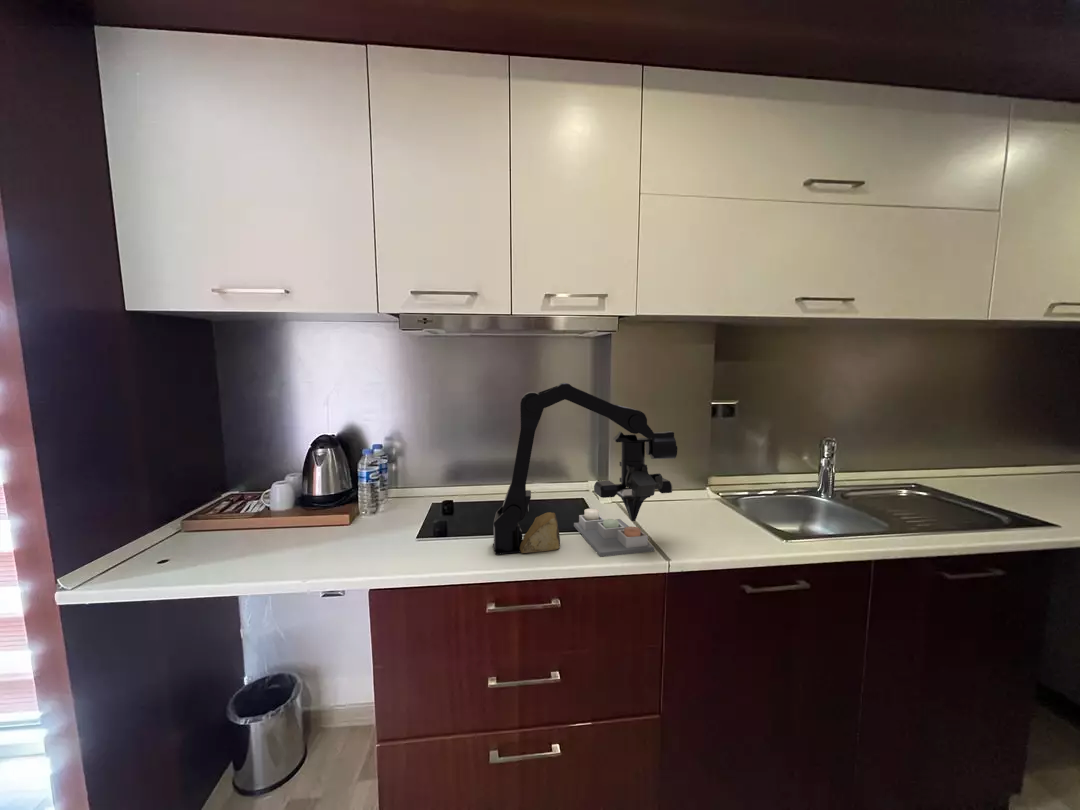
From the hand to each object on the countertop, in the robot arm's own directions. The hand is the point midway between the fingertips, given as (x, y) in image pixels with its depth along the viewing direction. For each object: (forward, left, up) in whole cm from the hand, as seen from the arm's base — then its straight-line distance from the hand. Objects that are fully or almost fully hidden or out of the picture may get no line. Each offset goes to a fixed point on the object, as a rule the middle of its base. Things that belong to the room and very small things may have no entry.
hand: (632, 520), depth 114 cm
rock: (-23, +4, -7) cm, 24 cm away
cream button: (-6, +14, -4) cm, 16 cm away
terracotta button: (0, 0, -5) cm, 5 cm away
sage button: (-3, +7, -5) cm, 9 cm away
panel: (-3, +7, -7) cm, 10 cm away
